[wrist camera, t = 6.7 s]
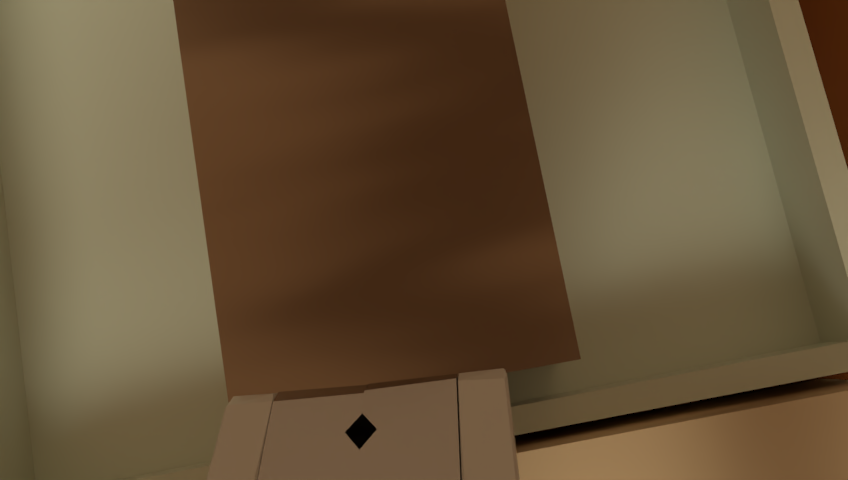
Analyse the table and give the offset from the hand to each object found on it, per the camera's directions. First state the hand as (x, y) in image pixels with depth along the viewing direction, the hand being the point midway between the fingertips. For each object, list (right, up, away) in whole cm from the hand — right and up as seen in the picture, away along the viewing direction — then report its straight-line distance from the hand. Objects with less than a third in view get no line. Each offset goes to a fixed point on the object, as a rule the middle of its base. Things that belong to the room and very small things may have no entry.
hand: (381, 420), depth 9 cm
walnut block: (0, -1, +5) cm, 5 cm away
